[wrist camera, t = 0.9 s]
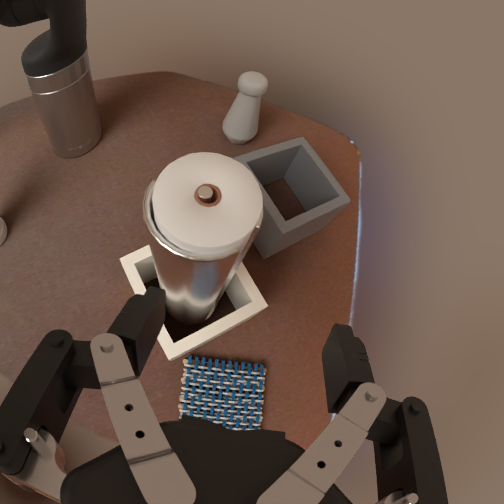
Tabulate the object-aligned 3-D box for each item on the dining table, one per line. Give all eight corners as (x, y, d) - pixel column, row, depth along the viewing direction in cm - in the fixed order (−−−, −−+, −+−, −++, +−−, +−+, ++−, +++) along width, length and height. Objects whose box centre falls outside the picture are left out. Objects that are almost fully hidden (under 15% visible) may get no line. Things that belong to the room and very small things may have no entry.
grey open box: (223, 193, 44) (233, 157, 36) (285, 170, 48) (303, 136, 40) (263, 259, 42) (282, 234, 34) (324, 228, 46) (351, 200, 38)
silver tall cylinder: (205, 268, 39) (241, 134, 17) (223, 315, 38) (289, 231, 15) (158, 283, 37) (129, 158, 14) (174, 332, 35) (159, 272, 13)
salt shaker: (233, 153, 47) (251, 93, 35) (213, 131, 48) (225, 71, 36) (261, 141, 49) (283, 83, 37) (240, 120, 50) (257, 63, 38)
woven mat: (175, 434, 31) (174, 438, 29) (183, 354, 35) (183, 353, 33) (258, 441, 33) (262, 445, 31) (265, 363, 37) (270, 363, 35)
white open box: (131, 279, 36) (119, 258, 29) (208, 243, 41) (214, 215, 33) (172, 360, 34) (169, 359, 27) (251, 317, 38) (268, 306, 31)
